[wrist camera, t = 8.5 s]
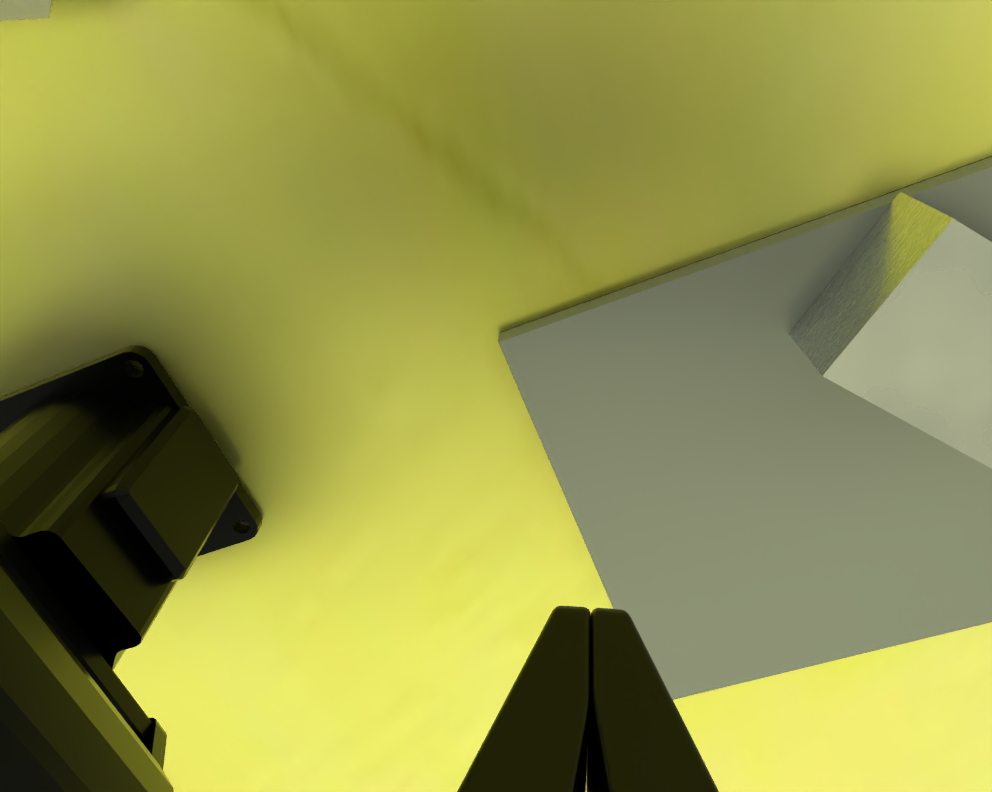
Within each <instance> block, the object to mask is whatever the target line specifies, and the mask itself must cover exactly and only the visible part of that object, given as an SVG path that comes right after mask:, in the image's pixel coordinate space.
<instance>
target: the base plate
mask: <svg viewBox="0 0 992 792" xmlns="http://www.w3.org/2000/svg"><path fill="white" fill-rule="evenodd" d="M899 192H902V193H904V194H906V195H908V196H910V197H912V198H914V199H916V200H918V201H920V202H922V203H924V204H926V205H928V206H930V207H932V208H934V209H936V210H938V211H940V212H942V213H944V214H946V215H948V216H950V217H952V218H954V219H955V220H957V221H959V222H960V223H962V224H963V225H965V226H967V227H968V228H970V229H971V230H973V231H975V232H976V233H978V234H979V235H981V236H983V237H984V238H986V239H987V240H989V241H991V242H992V157H989V158H986V159H983V160H981V161H978V162H975V163H972V164H969V165H967V166H964V167H961V168H958V169H955V170H953V171H950V172H947V173H944V174H942V175H939V176H936V177H933V178H930V179H928V180H925V181H922V182H919V183H916V184H914V185H911V186H908V187H905V188H903V189H900V190H897V191H894V192H891V193H889V194H886V195H883V196H880V197H877V198H875V199H872V200H869V201H866V202H864V203H861V204H858V205H855V206H852V207H850V208H847V209H844V210H841V211H838V212H836V213H833V214H830V215H827V216H824V217H822V218H819V219H816V220H813V221H811V222H808V223H805V224H802V225H799V226H797V227H794V228H791V229H788V230H785V231H783V232H780V233H777V234H774V235H772V236H769V237H766V238H763V239H760V240H758V241H755V242H752V243H749V244H746V245H744V246H741V247H738V248H735V249H732V250H730V251H727V252H724V253H721V254H719V255H716V256H713V257H710V258H707V259H705V260H702V261H699V262H696V263H693V264H691V265H688V266H685V267H682V268H680V269H677V270H674V271H671V272H668V273H666V274H663V275H660V276H657V277H654V278H652V279H649V280H646V281H643V282H640V283H638V284H635V285H632V286H629V287H627V288H624V289H621V290H618V291H615V292H613V293H610V294H607V295H604V296H601V297H599V298H596V299H593V300H590V301H588V302H585V303H582V304H579V305H576V306H574V307H571V308H568V309H565V310H562V311H560V312H557V313H554V314H551V315H549V316H546V317H543V318H540V319H537V320H535V321H532V322H529V323H526V324H523V325H521V326H518V327H515V328H512V329H509V330H507V331H504V332H501V333H499V345H500V347H501V349H502V352H503V354H504V356H505V359H506V361H507V363H508V365H509V368H510V370H511V372H512V375H513V377H514V379H515V382H516V384H517V386H518V389H519V391H520V393H521V396H522V398H523V400H524V402H525V405H526V407H527V409H528V412H529V414H530V416H531V419H532V421H533V423H534V426H535V428H536V430H537V433H538V435H539V437H540V439H541V442H542V444H543V446H544V449H545V451H546V453H547V456H548V458H549V460H550V463H551V465H552V467H553V470H554V472H555V474H556V477H557V479H558V481H559V483H560V486H561V488H562V490H563V493H564V495H565V497H566V500H567V502H568V504H569V507H570V509H571V511H572V514H573V516H574V518H575V520H576V523H577V525H578V527H579V530H580V532H581V534H582V537H583V539H584V541H585V544H586V546H587V548H588V551H589V553H590V555H591V558H592V560H593V562H594V564H595V567H596V569H597V571H598V574H599V576H600V578H601V581H602V583H603V585H604V588H605V590H606V592H607V595H608V597H609V599H610V601H611V604H612V606H613V608H614V609H622V610H625V611H626V612H627V613H628V614H629V615H630V617H631V618H632V620H633V622H634V624H635V626H636V628H637V630H638V632H639V634H640V636H641V638H642V640H643V642H644V644H645V646H646V648H647V650H648V652H649V654H650V656H651V658H652V660H653V662H654V664H655V666H656V668H657V670H658V672H659V674H660V676H661V678H662V680H663V682H664V684H665V686H666V688H667V690H668V692H669V694H670V696H671V698H672V700H673V699H678V698H682V697H686V696H690V695H694V694H698V693H702V692H706V691H710V690H715V689H719V688H723V687H727V686H731V685H735V684H739V683H743V682H747V681H752V680H756V679H760V678H764V677H768V676H772V675H776V674H780V673H784V672H788V671H793V670H797V669H801V668H805V667H809V666H813V665H817V664H821V663H825V662H830V661H834V660H838V659H842V658H846V657H850V656H854V655H858V654H862V653H867V652H871V651H875V650H879V649H883V648H887V647H891V646H895V645H899V644H904V643H908V642H912V641H916V640H920V639H924V638H928V637H932V636H936V635H940V634H945V633H949V632H953V631H957V630H961V629H965V628H969V627H973V626H977V625H982V624H986V623H990V622H992V469H991V468H989V467H988V466H986V465H984V464H982V463H980V462H978V461H977V460H975V459H973V458H971V457H969V456H968V455H966V454H964V453H962V452H960V451H958V450H957V449H955V448H953V447H951V446H949V445H947V444H946V443H944V442H942V441H940V440H938V439H936V438H935V437H933V436H931V435H929V434H927V433H925V432H924V431H922V430H920V429H918V428H916V427H914V426H913V425H911V424H909V423H907V422H905V421H903V420H902V419H900V418H898V417H896V416H894V415H892V414H891V413H889V412H887V411H885V410H883V409H882V408H880V407H878V406H876V405H874V404H872V403H871V402H869V401H867V400H865V399H863V398H861V397H860V396H858V395H856V394H854V393H852V392H850V391H849V390H847V389H845V388H843V387H841V386H839V385H838V384H836V383H834V382H832V381H830V380H828V379H827V378H825V377H823V376H822V375H821V374H820V373H819V371H818V370H817V369H816V368H815V366H814V365H813V364H812V363H811V361H810V360H809V359H808V358H807V356H806V355H805V354H804V353H803V351H802V350H801V349H800V348H799V346H798V345H797V344H796V343H795V341H794V340H793V339H792V338H791V336H790V335H789V333H790V331H791V330H792V329H793V328H794V326H795V325H796V324H797V322H798V321H799V320H800V319H801V317H802V316H803V315H804V314H805V312H806V311H807V310H808V308H809V307H810V306H811V305H812V303H813V302H814V301H815V299H816V298H817V297H818V296H819V294H820V293H821V292H822V291H823V289H824V288H825V287H826V285H827V284H828V283H829V282H830V280H831V279H832V278H833V277H834V275H835V274H836V273H837V271H838V270H839V269H840V268H841V266H842V265H843V264H844V262H845V261H846V260H847V259H848V257H849V256H850V255H851V254H852V252H853V251H854V250H855V248H856V247H857V246H858V245H859V243H860V242H861V241H862V240H863V238H864V237H865V236H866V234H867V233H868V232H869V231H870V229H871V228H872V227H873V225H874V224H875V223H876V222H877V220H878V219H879V218H880V217H881V215H882V214H883V213H884V211H885V210H886V209H887V208H888V206H889V205H890V204H891V203H892V201H893V200H894V199H895V197H896V196H897V195H898V194H899Z"/></svg>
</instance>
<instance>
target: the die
mask: <svg viewBox="0 0 992 792" xmlns="http://www.w3.org/2000/svg"><path fill="white" fill-rule="evenodd" d="M51 6H52V0H0V21H3V20H20V19H37V18H49V17H50V12H51Z"/></svg>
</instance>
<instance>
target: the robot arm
mask: <svg viewBox="0 0 992 792" xmlns="http://www.w3.org/2000/svg"><path fill="white" fill-rule="evenodd" d="M131 360H134V361H137V362H138V363H140V364H141V365H142V367H143V370H144V371H139V370H137V369H135V368H134V367H133V366H132V363H131ZM238 520H243V521H246V522H247V523H248V524H249V525H243V524H241V523H240V522H238ZM261 524H262V518H261V515H260V513H259V512H258V510H257V509H256V507H255V506H254V504H253V503H252V501H251V500H250V498H249V497H248V495H247V493H246V492H245V490H244V489H243V487H242V486H241V484H240V483H239V478H238V476H237V474H236V473H235V471H234V470H233V468H232V467H231V465H230V464H229V462H228V461H227V459H226V458H225V456H224V454H223V453H222V451H221V450H220V448H219V447H218V445H217V444H216V442H215V441H214V439H213V438H212V436H211V435H210V433H209V432H208V430H207V429H206V427H205V426H204V424H203V423H202V421H201V420H200V418H199V416H198V415H197V413H196V412H195V411H194V410H192V409H191V408H190V407H189V406H188V404H187V403H186V401H185V400H184V398H183V396H182V395H181V393H180V392H179V390H178V389H177V387H176V386H175V384H174V383H173V381H172V380H171V378H170V377H169V375H168V374H167V372H166V371H165V369H164V368H163V366H162V365H161V363H160V362H159V360H158V359H157V357H156V356H155V355H154V354H153V353H152V351H150V350H149V349H147V348H145V347H142V346H137V345H136V346H130V347H127V348H125V349H122V350H120V351H117V352H115V353H112V354H110V355H107V356H105V357H102V358H100V359H97V360H95V361H92V362H89V363H87V364H84V365H82V366H79V367H77V368H74V369H72V370H69V371H67V372H64V373H62V374H59V375H57V376H54V377H52V378H49V379H47V380H44V381H42V382H39V383H36V384H34V385H31V386H29V387H26V388H24V389H21V390H19V391H16V392H14V393H11V394H9V395H6V396H4V397H1V398H0V792H173V787H172V785H171V784H170V782H169V780H168V779H167V777H166V775H165V774H164V772H163V764H164V755H165V747H166V738H167V735H166V733H165V731H164V730H163V729H162V727H161V726H160V725H159V723H158V722H157V720H156V719H154V718H148V717H147V715H146V714H145V713H144V711H143V710H142V709H141V707H140V706H139V705H138V703H137V702H136V701H135V699H134V698H133V697H132V695H131V694H130V693H129V691H128V690H127V689H126V687H125V686H124V685H123V683H122V682H121V681H120V679H119V678H118V677H117V675H116V674H115V673H114V671H113V670H114V668H115V666H116V665H117V663H118V661H119V660H120V658H121V657H122V655H123V653H124V652H125V650H126V649H129V648H132V647H135V646H137V645H139V644H140V643H141V641H142V640H143V638H144V636H145V635H146V633H147V631H148V630H149V628H150V626H151V625H152V623H153V621H154V620H155V618H156V616H157V615H158V613H159V611H160V610H161V608H162V606H163V604H164V603H165V601H166V599H167V598H168V596H169V594H170V593H171V591H172V589H173V588H174V586H175V584H176V583H177V581H178V580H181V579H183V578H184V577H185V576H186V574H187V573H188V571H189V569H190V568H191V566H192V564H193V562H194V561H195V559H196V557H197V556H200V555H203V554H206V553H209V552H213V551H216V550H219V549H222V548H225V547H228V546H231V545H234V544H237V543H240V542H243V541H247V540H250V539H251V538H253V537H255V535H256V534H257V532H258V530H259V528H260V526H261ZM586 772H587V778H586ZM586 784H587V792H719V791H718V789H717V787H716V785H715V783H714V781H713V779H712V777H711V775H710V773H709V771H708V769H707V767H706V765H705V763H704V761H703V759H702V757H701V755H700V753H699V751H698V749H697V747H696V745H695V743H694V741H693V739H692V737H691V735H690V733H689V731H688V729H687V727H686V726H685V724H684V722H683V720H682V718H681V716H680V714H679V712H678V710H677V708H676V706H675V704H674V702H673V700H672V698H671V696H670V694H669V692H668V690H667V688H666V686H665V684H664V682H663V680H662V678H661V676H660V674H659V672H658V670H657V668H656V666H655V664H654V662H653V660H652V658H651V656H650V654H649V652H648V650H647V648H646V646H645V644H644V642H643V640H642V638H641V636H640V634H639V632H638V630H637V628H636V626H635V624H634V622H633V620H632V618H631V617H630V615H629V614H628V613H627V612H626V611H625V610H622V609H606V608H596V609H594V610H593V611H592V612H591V614H590V611H589V610H588V609H587V608H585V607H573V606H558V607H556V608H555V609H554V610H553V611H552V613H551V615H550V616H549V618H548V620H547V622H546V624H545V626H544V628H543V630H542V632H541V634H540V635H539V637H538V639H537V641H536V643H535V645H534V647H533V649H532V651H531V653H530V654H529V656H528V658H527V660H526V662H525V664H524V666H523V668H522V670H521V672H520V673H519V675H518V677H517V679H516V681H515V683H514V685H513V687H512V689H511V691H510V692H509V694H508V696H507V698H506V700H505V702H504V704H503V706H502V708H501V710H500V711H499V713H498V715H497V717H496V719H495V721H494V723H493V725H492V727H491V729H490V730H489V732H488V734H487V736H486V738H485V740H484V742H483V744H482V746H481V748H480V749H479V751H478V753H477V755H476V757H475V759H474V761H473V763H472V765H471V766H470V768H469V770H468V772H467V774H466V776H465V778H464V780H463V782H462V784H461V785H460V787H459V789H458V791H457V792H585V790H586Z"/></svg>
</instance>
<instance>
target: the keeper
mask: <svg viewBox="0 0 992 792" xmlns="http://www.w3.org/2000/svg"><path fill="white" fill-rule="evenodd" d="M789 335H790V336H791V338H792V339H793V340H794V341H795V343H796V344H797V345H798V346H799V348H800V349H801V350H802V351H803V353H804V354H805V355H806V356H807V358H808V359H809V360H810V361H811V363H812V364H813V365H814V366H815V368H816V369H817V370H818V371H819V373H820V374H821V375H822V376H823V377H825V378H827V379H828V380H830V381H832V382H834V383H836V384H838V385H839V386H841V387H843V388H845V389H847V390H849V391H850V392H852V393H854V394H856V395H858V396H860V397H861V398H863V399H865V400H867V401H869V402H871V403H872V404H874V405H876V406H878V407H880V408H882V409H883V410H885V411H887V412H889V413H891V414H892V415H894V416H896V417H898V418H900V419H902V420H903V421H905V422H907V423H909V424H911V425H913V426H914V427H916V428H918V429H920V430H922V431H924V432H925V433H927V434H929V435H931V436H933V437H935V438H936V439H938V440H940V441H942V442H944V443H946V444H947V445H949V446H951V447H953V448H955V449H957V450H958V451H960V452H962V453H964V454H966V455H968V456H969V457H971V458H973V459H975V460H977V461H978V462H980V463H982V464H984V465H986V466H988V467H989V468H991V469H992V242H991V241H989V240H987V239H986V238H984V237H983V236H981V235H979V234H978V233H976V232H975V231H973V230H971V229H970V228H968V227H967V226H965V225H963V224H962V223H960V222H959V221H957V220H955V219H954V218H952V217H950V216H948V215H946V214H944V213H942V212H940V211H938V210H936V209H934V208H932V207H930V206H928V205H926V204H924V203H922V202H920V201H918V200H916V199H914V198H912V197H910V196H908V195H906V194H904V193H902V192H899V194H898V195H897V196H896V197H895V199H894V200H893V201H892V203H891V204H890V205H889V206H888V208H887V209H886V210H885V211H884V213H883V214H882V215H881V217H880V218H879V219H878V220H877V222H876V223H875V224H874V225H873V227H872V228H871V229H870V231H869V232H868V233H867V234H866V236H865V237H864V238H863V240H862V241H861V242H860V243H859V245H858V246H857V247H856V248H855V250H854V251H853V252H852V254H851V255H850V256H849V257H848V259H847V260H846V261H845V262H844V264H843V265H842V266H841V268H840V269H839V270H838V271H837V273H836V274H835V275H834V277H833V278H832V279H831V280H830V282H829V283H828V284H827V285H826V287H825V288H824V289H823V291H822V292H821V293H820V294H819V296H818V297H817V298H816V299H815V301H814V302H813V303H812V305H811V306H810V307H809V308H808V310H807V311H806V312H805V314H804V315H803V316H802V317H801V319H800V320H799V321H798V322H797V324H796V325H795V326H794V328H793V329H792V330H791V331H790V333H789Z"/></svg>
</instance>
